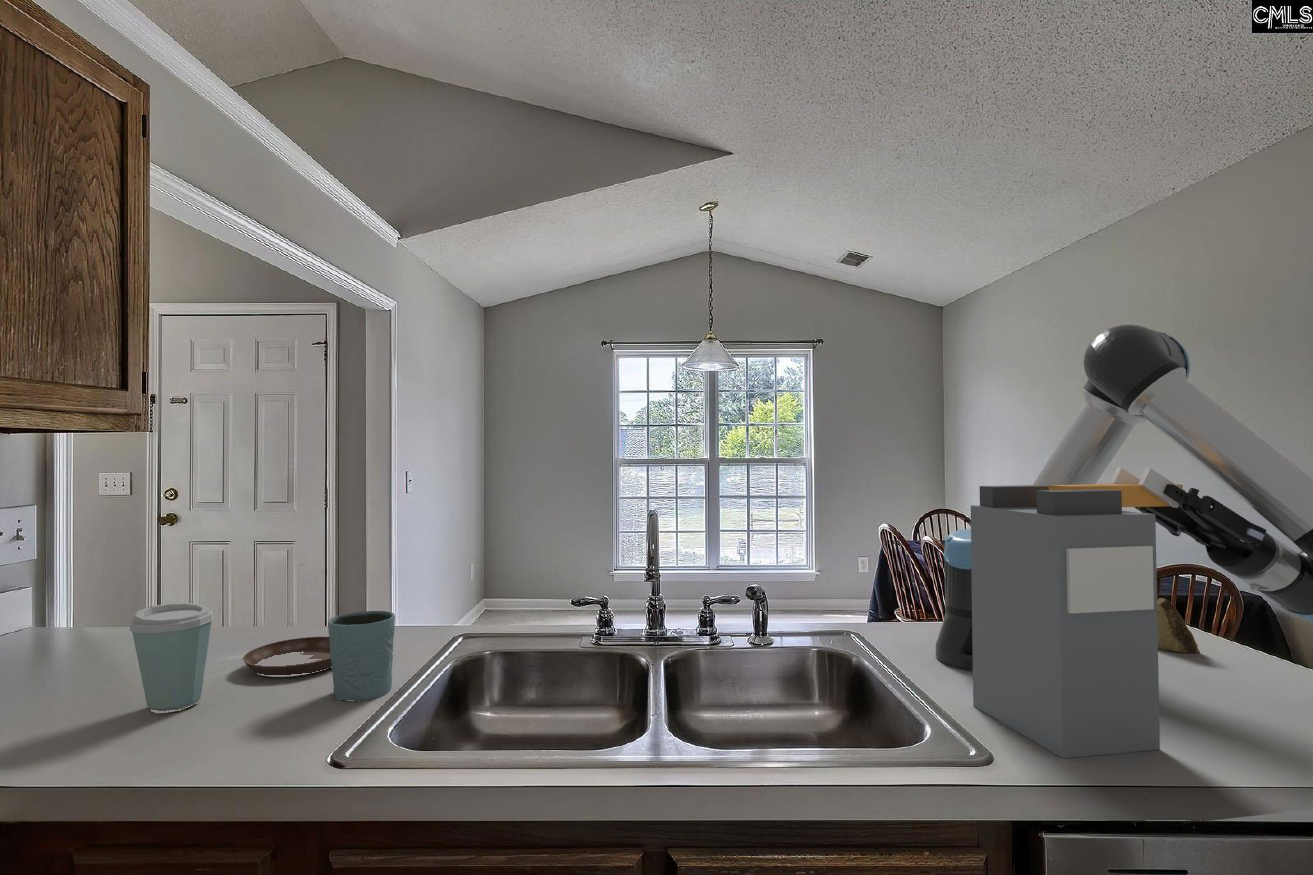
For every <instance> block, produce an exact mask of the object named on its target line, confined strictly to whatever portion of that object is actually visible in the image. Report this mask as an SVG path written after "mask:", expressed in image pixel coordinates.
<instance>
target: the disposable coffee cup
mask: <svg viewBox="0 0 1313 875" xmlns="http://www.w3.org/2000/svg"><path fill="white" fill-rule="evenodd" d="M213 612H214V611H213V610H212V609H210V607H209V606H207V605H204V604H202V603H201V604H200V603H193V602H191V603H190V602H174V603H173V602H172V603H169V602H168V603H163V604H157V605H152V606H148V607H145V608H142V609H139V610H137V611H136V612H135V614H134V616H133V620H132V621H131V622H130V624H129V630H128V631H129V632H131V633H132V638H133V643H134V646H135V652H136V653H135V654H136V656H137V663H138V667H139V671H140V676H141V681H142V687H143V691H144V696H145V701H146V707H147V708H150V709H152V710H158V711H167V710H168V711H169V710H179V709H183V708H185V707H188V706H191V705H194V704H195V703H197V702H198V701H199V702H200V699H201V696H202V691H203V683H204V677H205V671H206V663H207V657H208V649H209V642H210V636H211V629H212V622H213V620H214V617H215V616H214V613H213ZM199 702H198V703H199ZM150 709H149V710H150Z"/></svg>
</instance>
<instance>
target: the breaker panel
mask: <svg viewBox="0 0 1313 875" xmlns="http://www.w3.org/2000/svg"><path fill="white" fill-rule="evenodd" d="M1156 523H1157V522H1156V517H1155V514H1148V513H1142V512H1137V511H1128V510H1123V507H1122V491H1120V490H1105V489H1096V490H1049V486H1046V485H1033V484H1030V485H1028V484H1027V485H1025V484H1023V485H1022V484H1021V485H1020V484H1019V485H1018V484H1017V485H979V505H977V504H976V505H970V529H971V572H972V643H973V671H972V692H973V693H972V694H973V695H972V696H973V697H972V701H973V703H972V706H973V707H974V708H976V709H977V710H980V711H981V712H983V713H984V714H986V715H988V716H989V717H991V718H993V719H994V720H996V721H998V722H1000V723H1001V724H1003V725H1005V726H1006V727H1008V728H1010V729H1011V730H1013V731H1015V732H1017V733H1018V734H1020V735H1022V736H1024V738H1027V739H1029V740H1031V741H1032V742H1033V743H1035V744H1037V745H1039V746H1041V747H1042V748H1044V749H1045V750H1047V751H1049V752H1051V753H1052V754H1054V755H1056V756H1058V758H1059V757H1060V758H1061V759H1071V758H1084V757H1093V756H1102V755H1103V756H1105V755H1114V754H1124V753H1125V754H1126V753H1136V752H1138V753H1139V752H1148V751H1159V750H1161V745H1160V744H1161V742H1160V732H1161V731H1160V686H1159V676H1160V675H1159V648H1158V623H1157V600H1158V585H1157V584H1158V583H1157V578H1158V577H1157V531H1156V530H1157V529H1156V527H1157V526H1156Z"/></svg>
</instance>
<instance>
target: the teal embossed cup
mask: <svg viewBox="0 0 1313 875" xmlns="http://www.w3.org/2000/svg"><path fill="white" fill-rule="evenodd" d="M395 624H396V614H395V613H394V612H392V611H387V610H367V611H366V610H365V611H356V612H351V613H345V614H343V613H342V614H341V615H336V616H334V617H330V619H328V620H327V631H328V637H329V639H330V653H331V662H332V668H331V672H332V673H331V674H332V681H333V695H334V698H335V697H336V698H338V699H341V700H362V701H368V699H369V700H372V699H371V698H374V699H376V697H377V698H379V697H378V696H380V697H382V696H384V695H387V694H388V693H390V691H391V690H392V686H393V675H392V674H393V660H394V659H393V658H394V655H393V653H394V639H395V638H394V636H395V627H396V625H395ZM386 693H387V694H386ZM336 698H335V699H336ZM338 699H337V700H338ZM341 700H340V701H341Z"/></svg>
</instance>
